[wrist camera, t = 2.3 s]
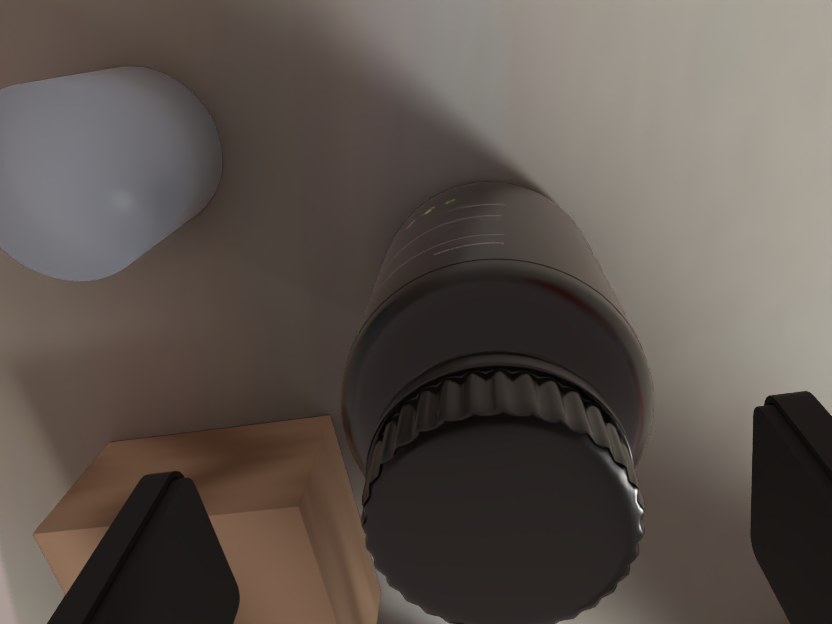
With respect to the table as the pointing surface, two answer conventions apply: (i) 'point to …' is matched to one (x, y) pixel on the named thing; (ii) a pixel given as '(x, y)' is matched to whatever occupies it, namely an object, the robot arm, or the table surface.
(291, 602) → the walnut block
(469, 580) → the supplement bottle
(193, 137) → the grey rounded pebble
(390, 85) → the table surface
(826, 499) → the robot arm
